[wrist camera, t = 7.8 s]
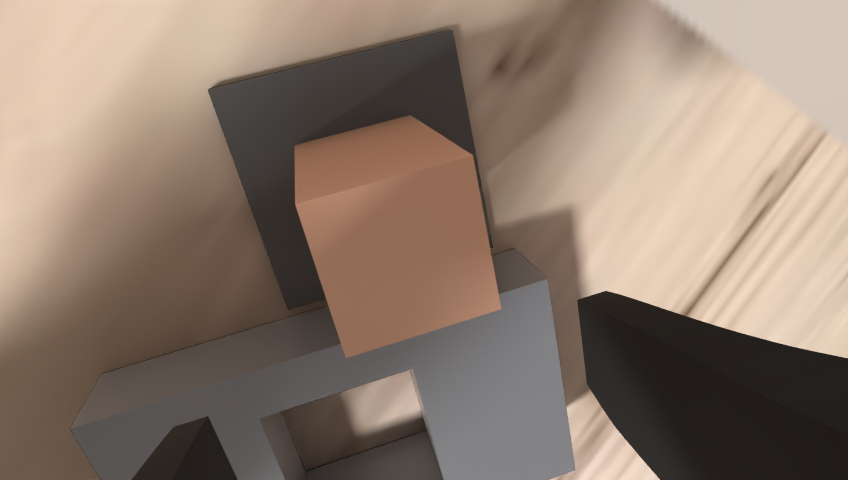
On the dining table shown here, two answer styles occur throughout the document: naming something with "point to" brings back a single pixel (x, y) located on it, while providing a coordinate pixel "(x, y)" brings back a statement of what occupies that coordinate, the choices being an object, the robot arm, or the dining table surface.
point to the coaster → (331, 131)
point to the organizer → (332, 373)
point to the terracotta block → (394, 232)
